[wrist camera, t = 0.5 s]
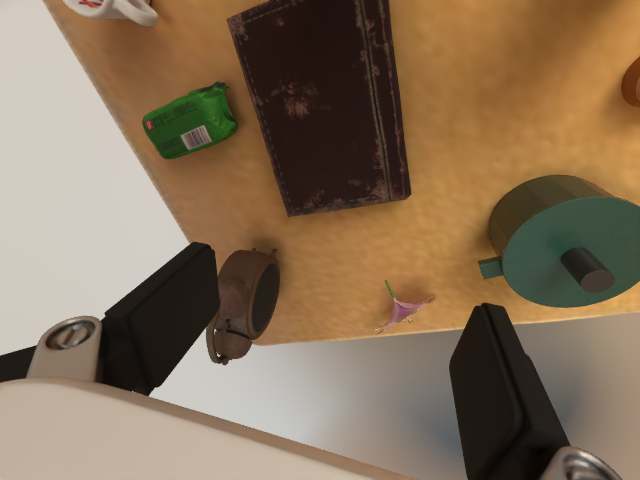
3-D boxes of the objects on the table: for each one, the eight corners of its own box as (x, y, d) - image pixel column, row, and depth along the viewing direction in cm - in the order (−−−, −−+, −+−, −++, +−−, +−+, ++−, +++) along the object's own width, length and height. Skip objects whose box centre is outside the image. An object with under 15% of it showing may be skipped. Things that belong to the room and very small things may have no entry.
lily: (366, 311, 58) (385, 358, 51) (348, 280, 50) (367, 332, 43) (425, 286, 56) (452, 332, 50) (416, 250, 48) (447, 299, 41)
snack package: (253, 129, 44) (237, 136, 40) (174, 159, 50) (152, 167, 46) (232, 78, 42) (212, 79, 37) (151, 115, 47) (125, 120, 43)
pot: (457, 203, 43) (468, 231, 36) (627, 148, 35) (685, 168, 28) (481, 277, 48) (495, 314, 40) (635, 242, 40) (686, 281, 33)
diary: (385, -32, 32) (383, -47, 28) (411, 186, 43) (412, 199, 39) (237, 26, 38) (217, 20, 34) (293, 205, 49) (282, 218, 45)
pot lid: (486, 219, 35) (499, 243, 30) (649, 171, 29) (698, 191, 24) (513, 311, 40) (528, 344, 35) (656, 286, 34) (698, 321, 30)
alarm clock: (287, 299, 60) (243, 390, 43) (253, 292, 61) (197, 378, 44) (286, 236, 52) (232, 316, 35) (248, 230, 54) (177, 304, 37)
